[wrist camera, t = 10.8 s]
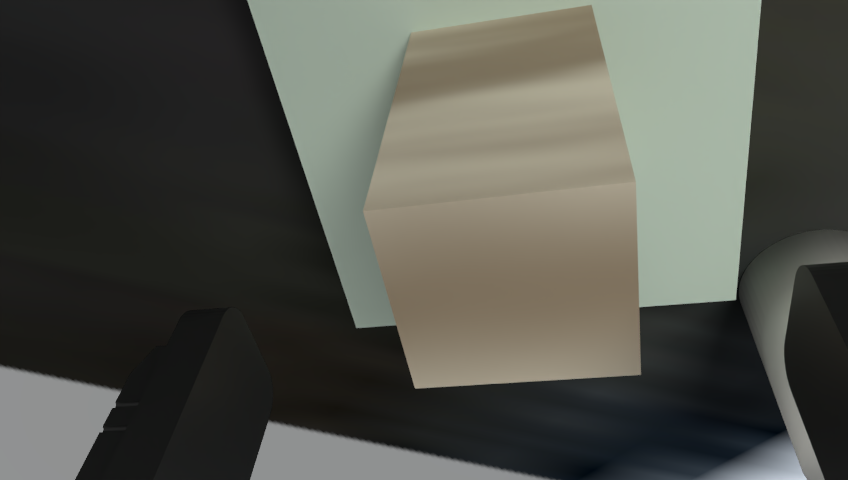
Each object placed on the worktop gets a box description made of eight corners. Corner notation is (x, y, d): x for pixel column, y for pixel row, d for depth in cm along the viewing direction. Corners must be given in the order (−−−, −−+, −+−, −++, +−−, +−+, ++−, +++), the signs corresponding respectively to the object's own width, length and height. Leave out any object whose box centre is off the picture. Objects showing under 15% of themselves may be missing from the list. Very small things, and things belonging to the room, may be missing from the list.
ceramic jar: (743, 236, 21) (812, 399, 16) (896, 222, 20) (1014, 390, 16) (734, 335, 23) (791, 504, 19) (871, 327, 23) (967, 500, 18)
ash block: (411, 32, 17) (363, 210, 11) (591, 5, 16) (635, 181, 10) (442, 180, 19) (415, 388, 13) (600, 162, 18) (640, 374, 13)
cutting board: (209, -199, 16) (184, -189, 14) (763, -321, 13) (788, -321, 12) (363, 295, 24) (356, 328, 23) (723, 265, 22) (735, 299, 21)
